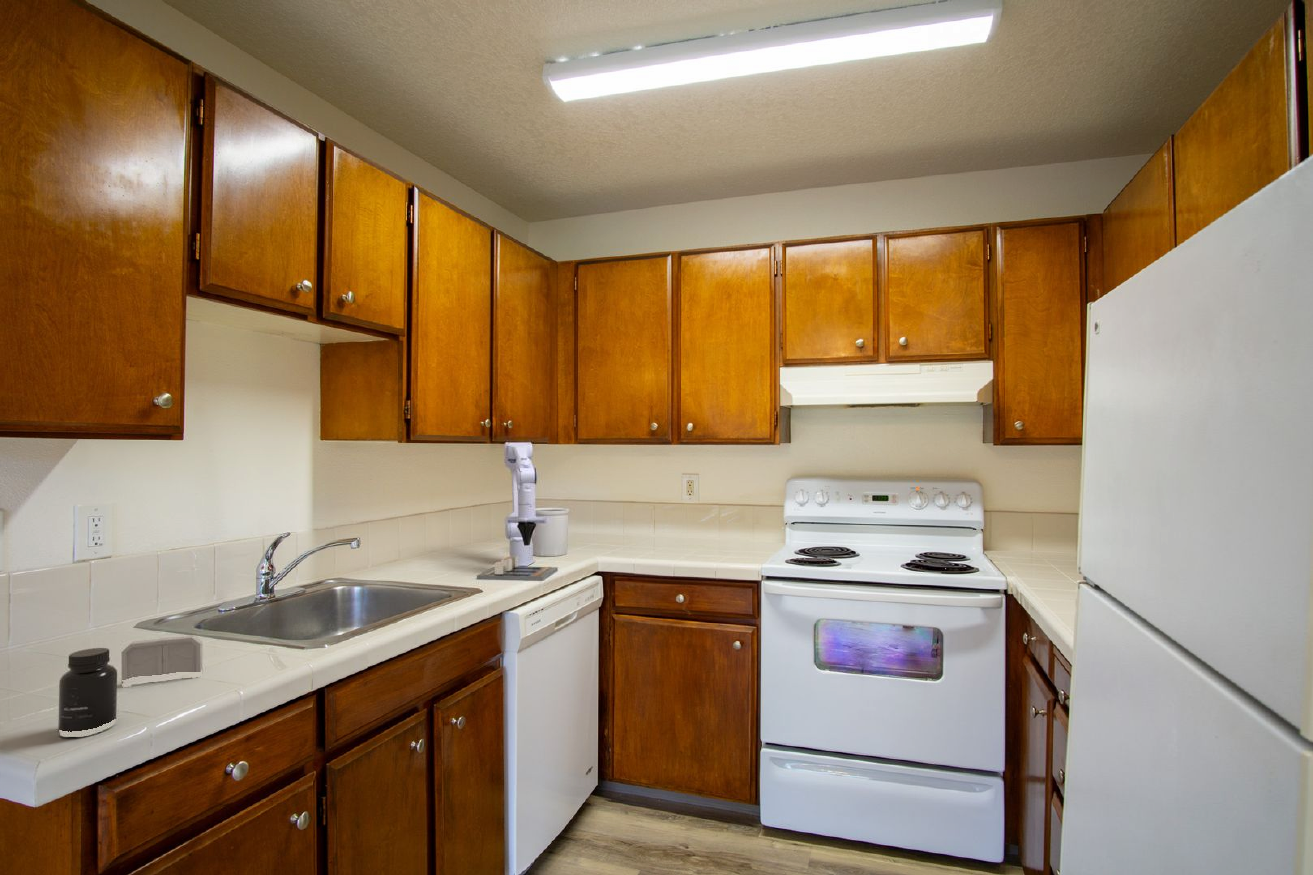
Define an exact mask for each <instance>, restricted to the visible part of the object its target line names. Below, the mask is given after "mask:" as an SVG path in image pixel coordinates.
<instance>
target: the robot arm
mask: <svg viewBox="0 0 1313 875" xmlns="http://www.w3.org/2000/svg"><path fill="white" fill-rule="evenodd" d="M533 452H534V451H533V444H532V443H531V441H529V442H508V441H506V442H505V443H504V444H503V455H504V456H503V458H504V459H503V460H504V464H505V467H506V468H509V470H510V474H511V488H512V490H511V492H512V493H511V494H512V513H510V514H509V515H507V516H505V517H504V523H505V538H506V539H507V540H509V556H518V566H519V567H529V565H532V564H533V563H535V562H536V560H535V559H534V555H533V544H532V538H533V536H534V529H535V527H536V523H544V524H547V523H549V517H536V507H537V506H536V504H537V503H536V485H537V483H538V471H537V467H536V466H534V465H533V462H532V458H533Z"/></svg>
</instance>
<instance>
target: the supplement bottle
mask: <svg viewBox="0 0 1313 875" xmlns="http://www.w3.org/2000/svg"><path fill="white" fill-rule="evenodd" d="M110 658H111V657H110V649H109V648H107V647H95V648H93V647H92V648H87V649H86V648H85V649H82V650H77V651H74V652H72V653H70V654H69V655H68V663H67V669H68V668H69V670H68V671H67V672H65V673H64V674H63V675H62V676H61V677H60V679H59V684H58V685H59V686H58V687H59V688H58V731H59V730H62V731H68V732H69V731H70V732H72V731H82V730H88V729H93V728H97V727H99V726H102V725H103V724H106V723H109V722H111V721H112V720H114V719H116V720H117V711H118V710H117V706H118V704H117V703H118V702H117V701H118V670H117V669H116V668H115V666H114V665H111V664H108V663H109V662H110V661H111V659H110Z"/></svg>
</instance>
